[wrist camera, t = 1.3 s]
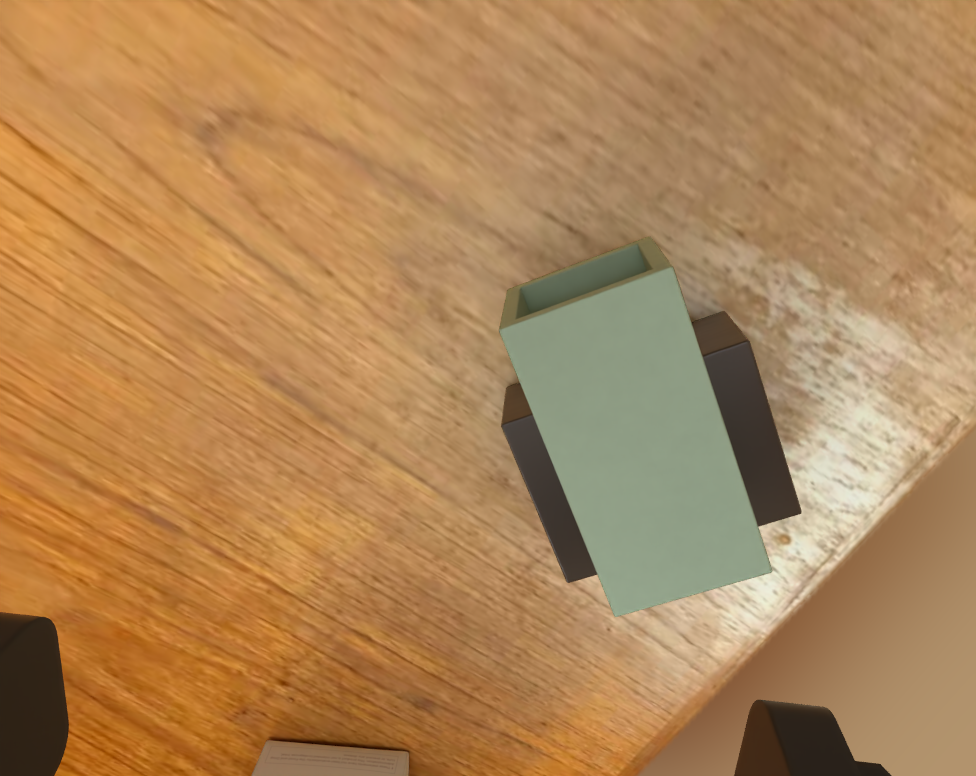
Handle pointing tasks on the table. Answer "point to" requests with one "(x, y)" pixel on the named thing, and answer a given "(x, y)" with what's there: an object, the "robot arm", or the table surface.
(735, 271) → the table surface
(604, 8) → the table surface
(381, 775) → the white packaging box
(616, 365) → the sage green rectangular prism
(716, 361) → the riser
